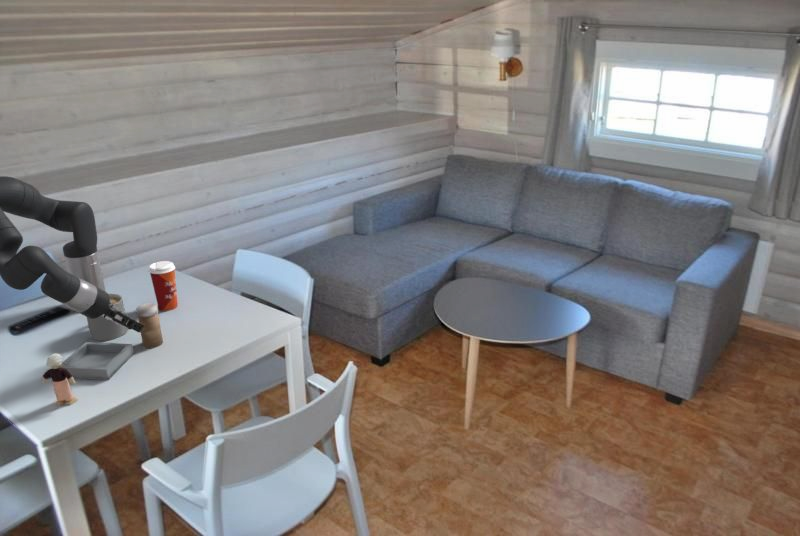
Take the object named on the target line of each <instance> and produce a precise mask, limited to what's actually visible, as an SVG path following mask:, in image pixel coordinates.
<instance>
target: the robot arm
mask: <svg viewBox="0 0 800 536" xmlns="http://www.w3.org/2000/svg"><path fill="white" fill-rule="evenodd" d="M5 213H8V214H9V215H14V216H17V217H21V218H23V219H24V218H25V219H31V220H34V221H36V222H40V223H42V224H44V225H46V226H48V227H50V228H51V229H55V230H57V231H59V232H63V233H64V232H65V233H66V232H67V233H72V237H73V240H71V241H69V242H66V243H65V244H64V245H63V247H62V252H63V256H64V261H65V266H66V270H67V271H66V270H65V269H63V268H62V267H61V266H60V265H59V264H58V263H57V262H56V261H55V260H54V259H53V258H52V257H51V256H50V255H49V254H48V253H47V252H46V251H45V250H44V249H43V248H41V247H39V246H36V245H27V246H24V247H23V248H22V249H20V247H21V246H22V244H23V241H24V238H23V235H22V234H21V232H20V231H19V229H17V227H16V226H15V224H14V223H13V222H12V221H11V219H10V218H9V217H8V216H7V214H5ZM95 219H96V218H95V214H94V211H93V208H92V207H91V206H90V204H89V203H87V202H85V201H74V200H71V201H70V200H59V199H54V198H50V197H46V196H44V195H42V194H41V193H40V191H39V190H38V189H37V187H35V186H33V185H32V184H30V183H28V182H25V181H23V180H20V179H18V178H16V177H15V178H14V177H11V176H5V175H4V176H3V175H2V176H1V175H0V277H1V279H2V281H3V282H4V283H5V284H6V285H7V286H8V287H9V288H12V289H15V290H18V291H22V290H26V289H28V288H30V286H32V285H33V284H34V283H35V282H36V281H37V280H39V279H40V278H41V277H42V276H43V275H44V274H45V276H44V277H43V279H42V280H41V282H40V290H41V292H42V293H43V294H44V295H45V296H47V297H49V298H51V299H53V300H54V301H56V302H59V303H61V304H62V305H64V306H65V307H67V308H69V309H70V310H72V311H74V312H76V313H79V314H80V315H82V316H84V317H86V318H87V317H88V318H91V319H95V318H98V317H100V316H103V317H104V318H105V319H107V320H111V321H113V322H115V323H116V324H118V325H120V324H121V325H123V326H125V327H127V328H128V331H129V330H133V331H134V332H137V333H140V334H141V331H142V329H143V328H144V325H142V324H140V323H139V321H137V320H136V319H135V318H133V317H130V316H128V313H127V312H126V311H125V312H124V311H122V310H120V309H118V307H117V306H115V305H113V304H112V303H110V297H109V294H110V293H108V292H106V291H107V290H106V286H105V282H104V276H103V272H102V266H101V261H100V257H99V252H98V234H97V225H96V220H95ZM19 249H20V250H19ZM112 318H113V319H112ZM126 323H127V324H126Z"/></svg>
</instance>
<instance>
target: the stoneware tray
mask: <svg viewBox="0 0 800 536" xmlns="http://www.w3.org/2000/svg"><path fill="white" fill-rule="evenodd" d="M134 354H135V352H134V347H133V343H116V342H115V343H114V342H89V341H85V342H84V343H83V344H82V345H81V346H80V347H79V348H76V350H75V351H74V352H73V353H71V354H70V356H68V357H67V358H66V359H65V360H64V361H62V365H61V368H65V369H67V371H68V372H69V373H70V374H71V375H72V377H73V378H74V379H80V380H81V379H82V380H103V381H104V380H105V381H108V380H111V378H112V377H113V376H114V375H115V374H116V373H117V372H118V371H119V370H120V369H121V368H122V367H123V366H124V365H125V364H126V363H127V362H128V361H129V360H130V358H132V356H133V355H134Z"/></svg>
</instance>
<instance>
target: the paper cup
mask: <svg viewBox="0 0 800 536" xmlns="http://www.w3.org/2000/svg"><path fill="white" fill-rule="evenodd" d="M175 269H176V266H175V265H174V262H172V261H169V260H163V261H162V260H160V261H157V262H156V261H155V262H154V263H151V264H150V265H149V269H148V272H149V274H150V278H151V282H152V287H153V290H154V295H155V299H156V302H157V303H156V305H157V307H158V310H160V311H164V312H167V311H173V310H175V309H176V308H177V307H178V293H177V283H176V272H175V271H176V270H175Z"/></svg>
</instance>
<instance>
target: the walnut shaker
mask: <svg viewBox="0 0 800 536" xmlns="http://www.w3.org/2000/svg"><path fill="white" fill-rule="evenodd" d="M135 311H136V315H137V319H138V322H139V323H140V324H142V325H144V328H143V329H142V331H141V332H140V335H141V336H140V337H141V342H142V346H143V348H145V349H154V348H157V347H160V346H162V345H163V343H164V340H163V334H162V328H161V322H160V321H161V320H160V316H159V307H158V304H157V303H154V302H153V303H152V302H148V303H142V304H140V305H138V306H136V308H135Z"/></svg>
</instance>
